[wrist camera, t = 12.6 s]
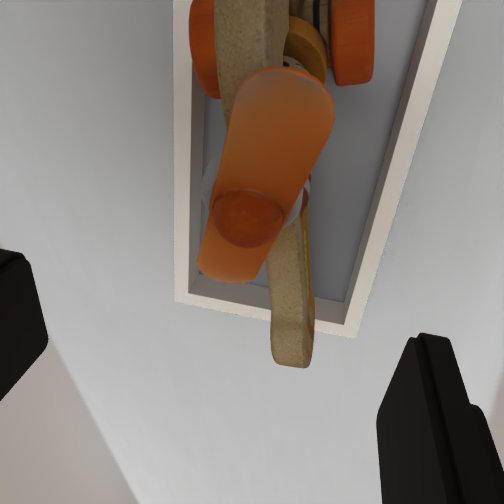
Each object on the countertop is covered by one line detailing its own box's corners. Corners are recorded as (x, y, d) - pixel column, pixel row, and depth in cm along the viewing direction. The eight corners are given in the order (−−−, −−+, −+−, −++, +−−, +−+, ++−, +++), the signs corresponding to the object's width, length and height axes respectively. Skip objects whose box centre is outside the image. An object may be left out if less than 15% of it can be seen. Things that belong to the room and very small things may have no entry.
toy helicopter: (372, -60, 19) (416, -180, 7) (365, 300, 29) (378, 492, 17) (205, -31, 21) (26, -87, 9) (253, 297, 31) (198, 470, 19)
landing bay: (197, -103, 20) (172, -123, 17) (469, -80, 18) (493, -98, 15) (190, 274, 32) (174, 301, 29) (354, 307, 31) (355, 338, 28)
